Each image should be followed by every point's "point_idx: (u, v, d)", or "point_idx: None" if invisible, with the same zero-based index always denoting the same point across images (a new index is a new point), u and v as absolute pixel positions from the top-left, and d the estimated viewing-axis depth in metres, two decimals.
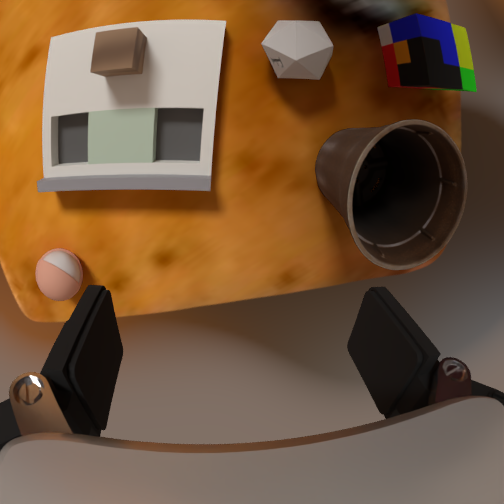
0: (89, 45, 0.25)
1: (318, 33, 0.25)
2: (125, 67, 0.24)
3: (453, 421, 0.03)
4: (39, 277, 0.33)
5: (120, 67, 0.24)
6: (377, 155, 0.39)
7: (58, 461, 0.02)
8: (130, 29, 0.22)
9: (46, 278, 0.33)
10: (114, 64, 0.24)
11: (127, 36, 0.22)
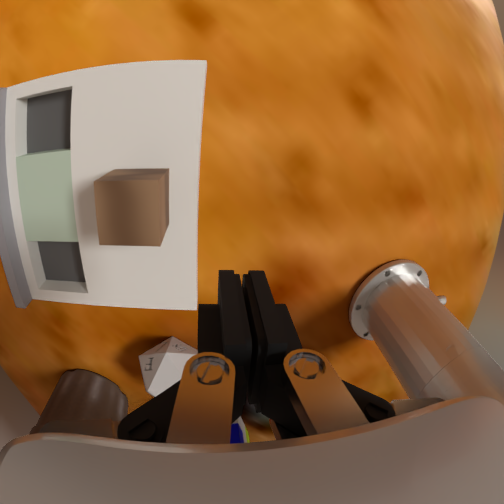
0: (169, 135, 0.22)
1: None
2: (99, 235, 0.20)
3: (453, 421, 0.03)
4: None
5: (99, 228, 0.20)
6: None
7: (58, 461, 0.02)
8: (157, 236, 0.21)
9: None
10: (102, 220, 0.20)
11: (145, 233, 0.21)
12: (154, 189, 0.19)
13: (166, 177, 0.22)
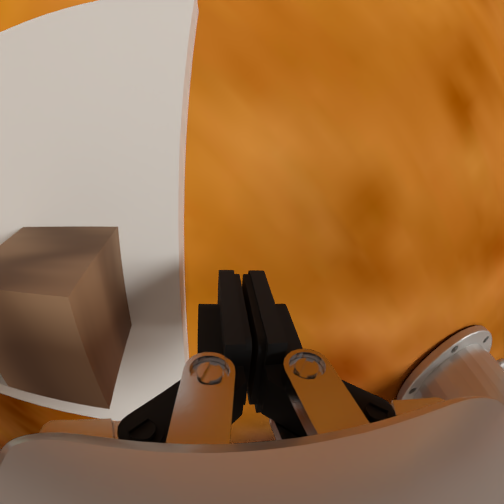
0: (111, 154, 0.10)
1: None
2: (2, 373, 0.07)
3: (453, 421, 0.03)
4: None
5: None
6: None
7: (58, 461, 0.02)
8: (98, 395, 0.08)
9: None
10: None
11: (74, 387, 0.08)
12: (64, 316, 0.07)
13: (107, 255, 0.10)
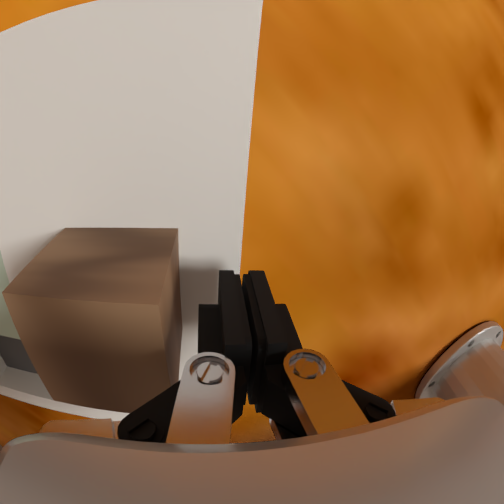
0: (176, 153, 0.10)
1: None
2: (48, 387, 0.08)
3: (453, 421, 0.03)
4: None
5: (43, 378, 0.08)
6: None
7: (58, 461, 0.02)
8: None
9: None
10: (44, 367, 0.07)
11: (141, 398, 0.08)
12: (149, 325, 0.07)
13: (174, 258, 0.10)
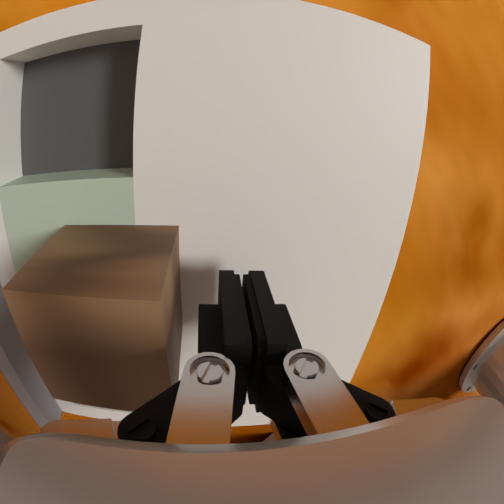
0: (370, 169, 0.11)
1: None
2: (48, 385, 0.08)
3: (453, 421, 0.03)
4: None
5: (43, 376, 0.08)
6: None
7: (58, 461, 0.02)
8: None
9: None
10: (44, 364, 0.07)
11: (141, 396, 0.08)
12: (149, 322, 0.07)
13: (174, 255, 0.10)
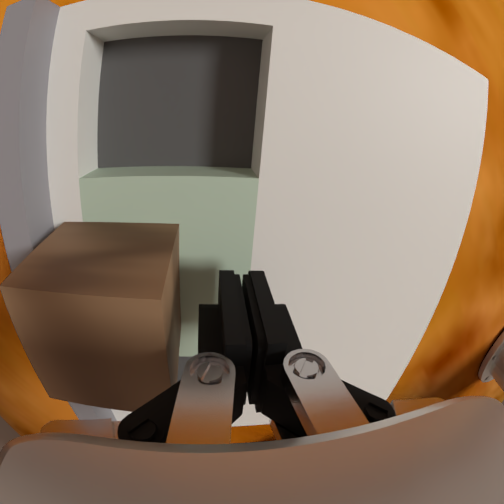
0: (446, 183, 0.12)
1: None
2: (44, 384, 0.08)
3: (453, 421, 0.03)
4: None
5: (40, 375, 0.07)
6: None
7: (58, 461, 0.02)
8: None
9: None
10: (41, 363, 0.07)
11: (139, 396, 0.08)
12: (150, 321, 0.07)
13: (175, 253, 0.10)
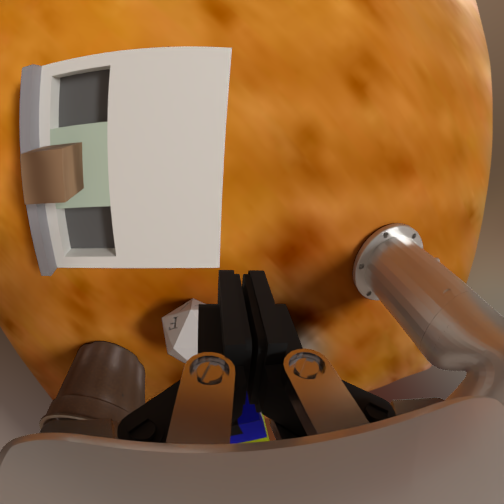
0: (199, 109, 0.26)
1: None
2: (24, 196, 0.21)
3: (453, 421, 0.03)
4: None
5: (24, 191, 0.21)
6: None
7: (58, 461, 0.02)
8: (62, 194, 0.22)
9: None
10: (26, 184, 0.21)
11: (54, 192, 0.22)
12: (59, 156, 0.20)
13: (76, 148, 0.23)
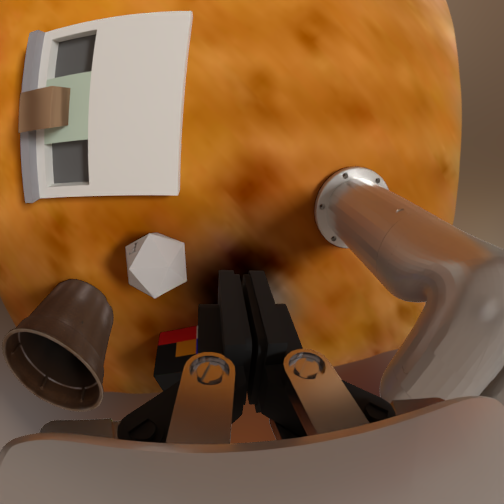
0: (163, 57, 0.28)
1: (163, 285, 0.35)
2: (19, 126, 0.23)
3: (453, 421, 0.03)
4: None
5: (19, 121, 0.23)
6: None
7: (58, 461, 0.02)
8: (48, 121, 0.24)
9: None
10: (21, 115, 0.23)
11: (42, 120, 0.24)
12: (49, 91, 0.23)
13: (64, 91, 0.26)
